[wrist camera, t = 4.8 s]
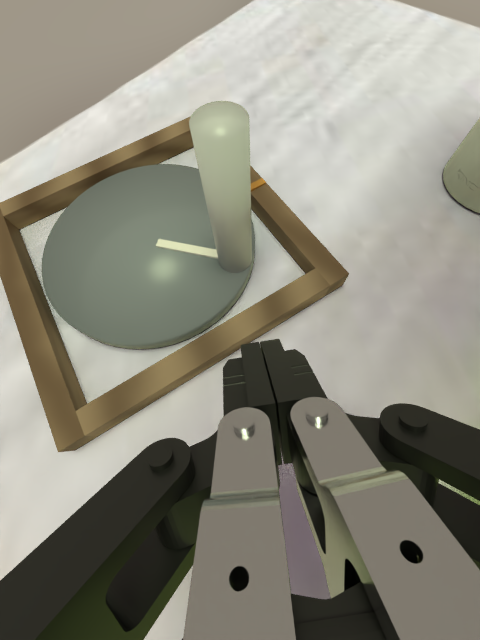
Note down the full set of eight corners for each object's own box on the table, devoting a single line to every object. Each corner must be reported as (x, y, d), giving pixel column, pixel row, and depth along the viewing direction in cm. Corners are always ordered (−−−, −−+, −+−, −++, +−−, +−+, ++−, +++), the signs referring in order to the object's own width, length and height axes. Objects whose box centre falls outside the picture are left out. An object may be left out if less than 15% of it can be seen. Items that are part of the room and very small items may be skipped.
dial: (194, 151, 33) (155, -25, 20) (296, 276, 26) (334, 129, 13) (29, 230, 30) (-140, 81, 17) (96, 394, 23) (-102, 350, 10)
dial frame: (204, 128, 34) (200, 109, 32) (342, 285, 26) (349, 272, 23) (-4, 225, 30) (-23, 210, 28) (75, 450, 22) (56, 452, 19)
